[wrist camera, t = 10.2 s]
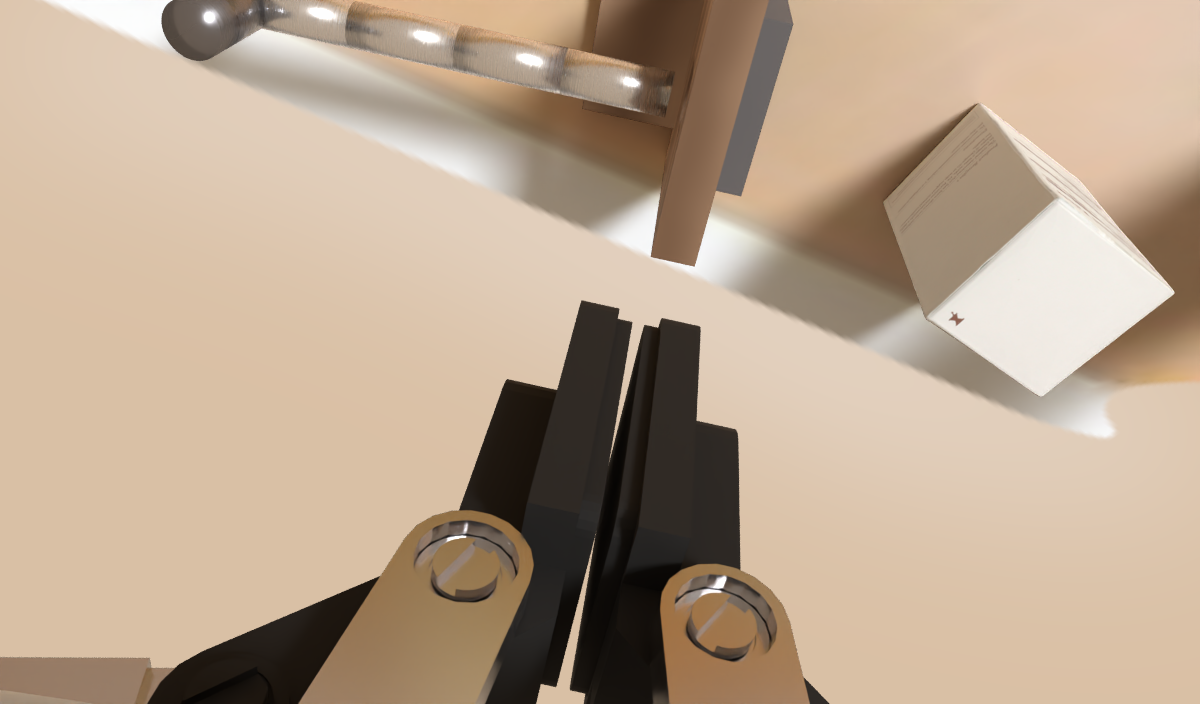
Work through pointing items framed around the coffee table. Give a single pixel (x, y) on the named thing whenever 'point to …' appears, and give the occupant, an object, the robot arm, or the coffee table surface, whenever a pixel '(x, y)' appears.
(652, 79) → the shaft
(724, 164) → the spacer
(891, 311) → the coffee table surface
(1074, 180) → the supplement box
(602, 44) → the bracket
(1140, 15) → the coffee table surface
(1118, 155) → the coffee table surface
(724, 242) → the coffee table surface
